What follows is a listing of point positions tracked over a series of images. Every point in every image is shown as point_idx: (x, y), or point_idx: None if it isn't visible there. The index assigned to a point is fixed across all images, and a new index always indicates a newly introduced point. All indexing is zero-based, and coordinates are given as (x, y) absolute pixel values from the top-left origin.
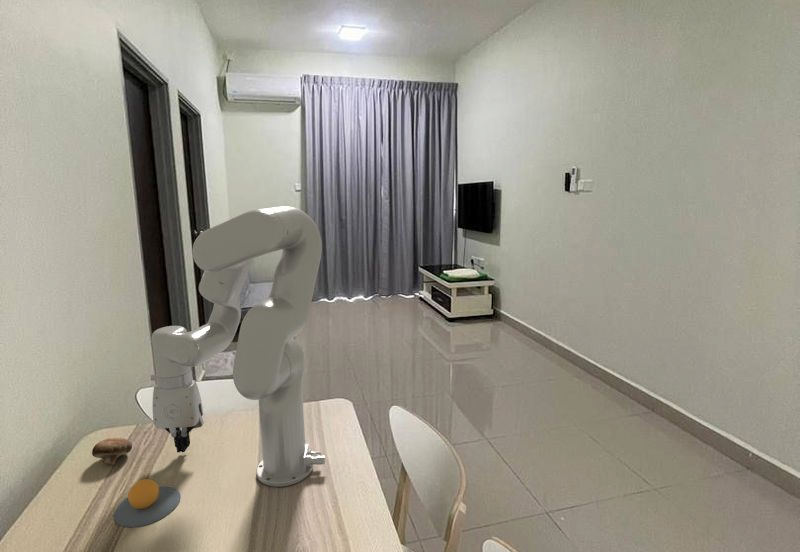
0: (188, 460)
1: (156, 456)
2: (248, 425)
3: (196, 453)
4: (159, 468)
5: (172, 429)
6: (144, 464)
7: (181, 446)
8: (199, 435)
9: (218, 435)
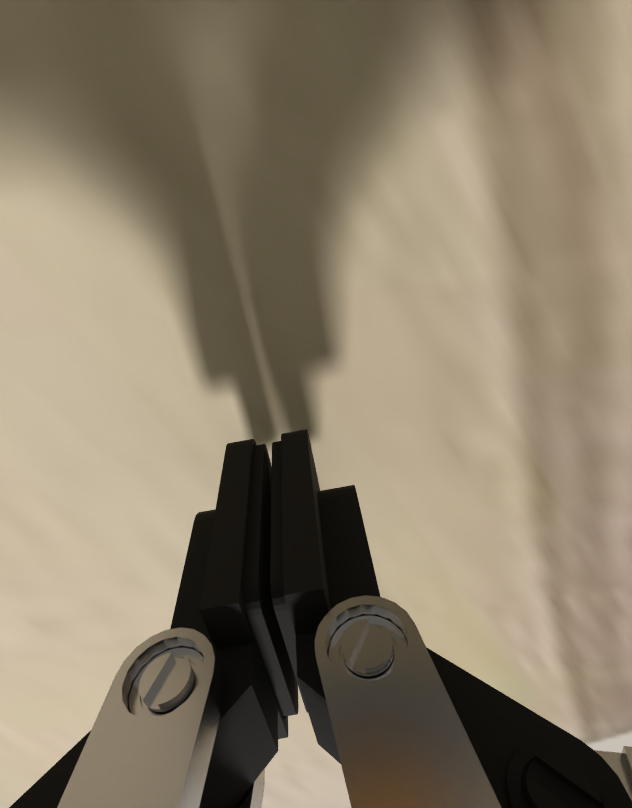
0: (164, 373)
1: (544, 395)
2: (30, 783)
3: (167, 482)
4: (408, 192)
5: (409, 796)
6: (621, 251)
7: (238, 486)
8: None
9: None
